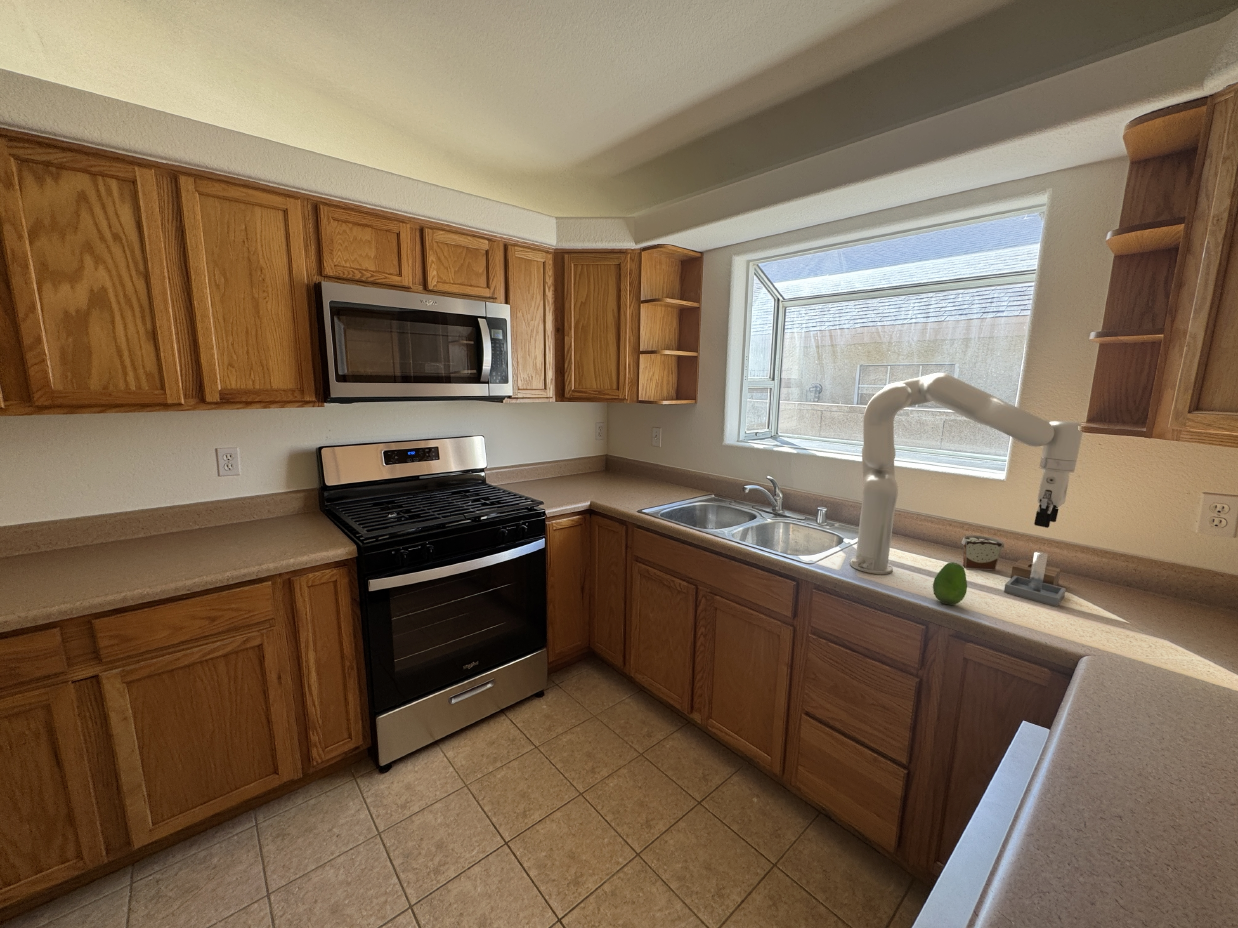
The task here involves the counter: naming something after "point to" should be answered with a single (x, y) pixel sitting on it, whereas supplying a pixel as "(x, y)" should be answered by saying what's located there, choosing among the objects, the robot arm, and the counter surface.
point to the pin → (1037, 571)
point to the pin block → (1024, 570)
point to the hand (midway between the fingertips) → (1045, 523)
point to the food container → (981, 552)
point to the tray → (1047, 595)
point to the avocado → (950, 584)
